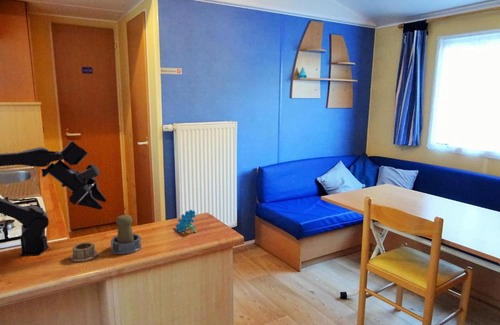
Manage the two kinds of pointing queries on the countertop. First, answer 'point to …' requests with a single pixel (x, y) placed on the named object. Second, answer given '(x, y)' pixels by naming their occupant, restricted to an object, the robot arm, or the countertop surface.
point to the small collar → (84, 252)
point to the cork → (124, 229)
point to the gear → (186, 221)
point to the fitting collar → (126, 246)
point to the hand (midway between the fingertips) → (103, 204)
